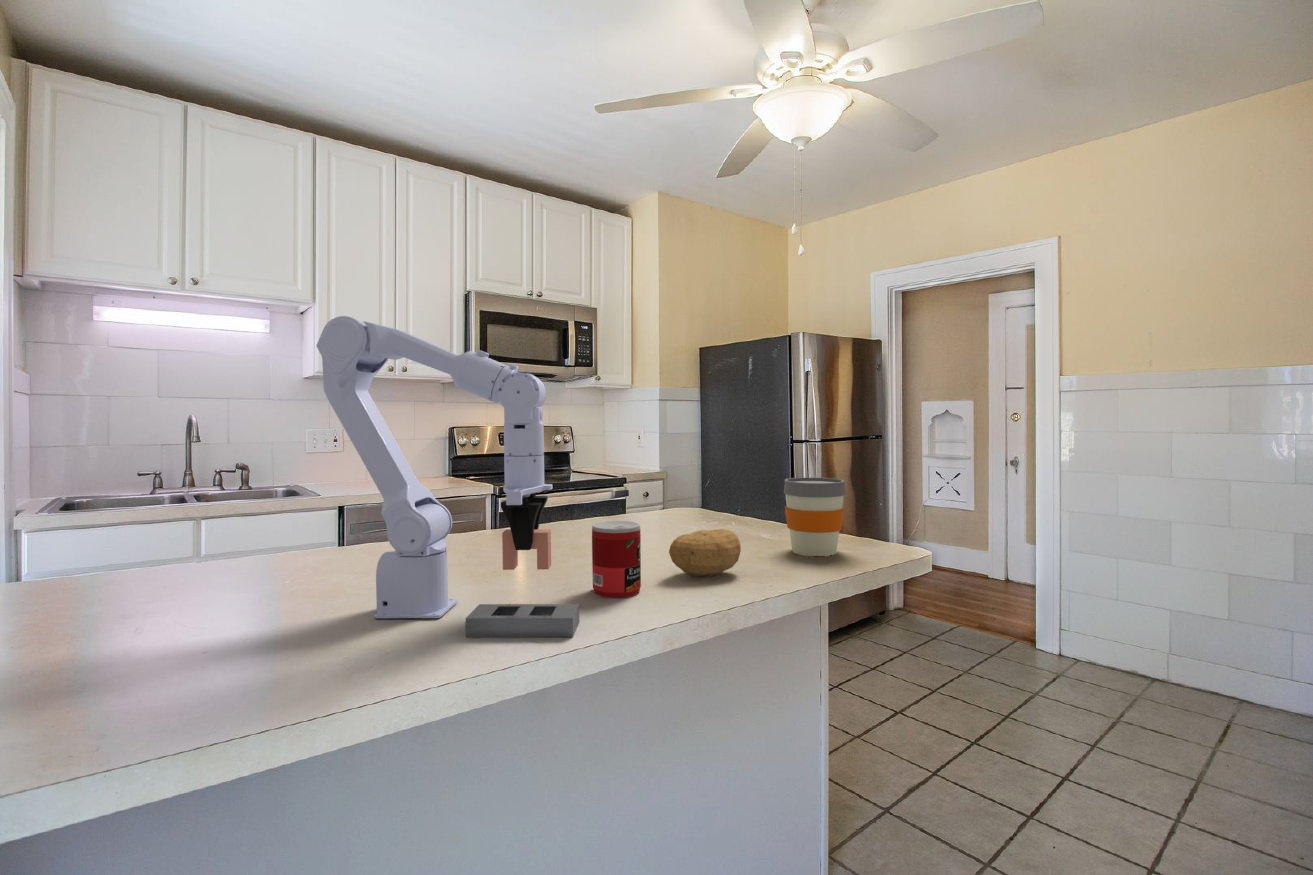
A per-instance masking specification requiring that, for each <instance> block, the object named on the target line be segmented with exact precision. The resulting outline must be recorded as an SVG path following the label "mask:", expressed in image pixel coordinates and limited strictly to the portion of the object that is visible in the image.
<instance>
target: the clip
mask: <svg viewBox="0 0 1313 875" xmlns="http://www.w3.org/2000/svg"><path fill="white" fill-rule="evenodd" d="M501 540H502V541H501V542H502V544H501V545H502V570H503V571H505V570H506V571H507V570H508V571H510V570H511V571H512V570H513V571H514V570H515V569H516V568H517V567H518V566H519V557H518V556H519V554H518V553H519V550H516V549H515V545H514V542H513V537H512V533H511V529H506V530H504V531H503V532H502V537H501ZM530 550H536V564H537V565H536V569H537V570H549V569H550V567H551V566H552V530H551V529H550V528H548V529H547V528H546V529H545V528H541V529H539V528H538V529H534V534H533V542H532V546H531V549H530Z"/></svg>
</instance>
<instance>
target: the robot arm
mask: <svg viewBox="0 0 1313 875" xmlns="http://www.w3.org/2000/svg"><path fill="white" fill-rule="evenodd" d="M316 348H317V349H318V352H319V355H320V356H321V361H322V380H323V392H324V395H325V397H326V398H327V400H328V402H329V404H330V406H331V408H332V409H333V411H334V412H335V414H336V416H337V418H338V420H339V421H340V424H341V425H342V427H343V429H344V431H345V433H346V434H347V436H348V438H349V440H350V441H351V443H352V445H353V447H354V448H355V450H356V452H357V455H358V456H359V457H360V459H361V461H362V464H364V466H365V469H366V470H367V472H368V473H369V475H370V477H371V479H372V481H373V483H374V484H375V485H376V488H377V489H378V491H379V493H380V495H381V497H382V498H383V502H382V507H381V513H380V514H381V516H382V518H383V520H384V522H385V524H386V525H385V526H386V536H387V537H386V538H387V540H388V542H389V544H390V546H391V547H392V548H393V549H394V551H386V552H384V553H382V555H381V556H380V557H379V559H378V561H377V566H376V570H375V571H376V572H375V587H376V588H375V589H376V590H375V592H376V594H375V595H376V596H375V597H376V613H375V614H374V617H373V618H375V619H439V618H442V617H443V615H445V614H446V613H447V612H448V611H449V610H451V609H452V607H454V606H455V605H456V604H457V603H458V602H459V600H458V599H457V598H449V583H448V582H449V579H448V577H449V575H448V574H449V572H448V571H449V570H448V569H449V568H448V566H449V565H448V544H447V543H446V537H448V535H449V534H450V532H451V531H452V527H453V517H452V514H451V512H450V509H448V508H447V507H446V506H445V505H443V503H441V502H439V501H438V500H437V498H435V496H434V495H433V493H432V491H431V490H429V488H427V487H426V486H424V485H423V484H422V483H421V482H420V481H418V478H417V477H416V475H415V473H414V471H413V470H412V467H411V466H410V464H409V462H408V461H407V459H406V457H405V455H404V453H403V452H402V450H401V448H400V446H399V445H398V442H397V441H396V438H394V436H393V433H392V432H391V430H390V429H389V426H388V424H387V422H386V421H385V419H384V418H383V415H382V413H381V412H380V410H379V408H378V407H377V405H376V402H375V401H374V400H373V397H372V395H371V394H370V392H369V390H370V389H369V388H370V387H371V384H372V382H373V379H374V378H375V376H376V375H377V374H378V373H379V372H380V371H381V369H382V368H383V367H384V366H385V365H386V363H387V362H388V361H389V360H393V361H396V360H401V359H403V358H404V359H407V360H410V361H413V362H414V363H418V364H421V365H423V366H427V367H429V368H431V369H434V370H437V371H439V372H442V373H446V374H447V375H449V376H450V377H451V379H452V381H453V384H454V385H455V387H456V388H458V389H461V390H463V391H466V392H468V393H470V394H473V395H476V396H478V397H480V398H483V399H486V400H487V401H490V402H493V403H496V404H498V403H500V405H501V406H502V407H503V413H504V414H503V415H504V417H503V418H504V420H503V421H504V422H503V455H504V456H503V458H504V459H503V461H504V462H503V465H504V466H503V467H504V468H503V470H504V473H503V474H504V485H503V489H502V490H503V492H504V493H505V494H506V495H505V500H502V501H501V502H500V508H501V510H502V512H503V513H504V515H505V517H506V520H507V523H508V526H509V530H511V533H512V537H513V542H514V545H515V549H516V550H518V551H530V550H532V549H531V546H532V542H533V534H534V529H539V527H540V521H541V517H542V514H543V511H544V509H545V505H546V504H547V502H548V499H549V498H548V495H537V494H538V493H541V492H544V491H551V490H553V489H554V488H553V484H552V483H551V484H550V483H549V484H548V483H545V442H544V441H545V439H544V438H545V436H544V434H545V432H544V431H545V429H544V422H543V417H544V412H543V407H542V406H544V404H545V401H546V398H547V390H546V387H545V385H544V383H543V381H542V380H541V379H540V378H538V377H537V376H535V375H534V374H532V373H529V372H528V373H527V372H521V371H518V370H519V369H520V368H519V366H518V365H515V364H513V363H511V364H509V365H507V364H504V363H503V362H499V361H498V360H494V359H492V358H490V357H489V356H490V354H489V353H488V352H486V351H483V350H480V349H477V352H475V351H473V350H470V351H469V350H468V351H466V352H464V353H462V354H456V353H454V352H451V351H450V350H447V349H445V348H443V347H441V346H438V345H437V344H434V343H431V342H429V341H427V340H424V339H423V338H419V337H417V336H416V335H413V334H411V333H409V332H406V331H404V330H399V329H396V328H394V327H389V326H385V325H380V324H377V323H373V322H368V321H360V320H357V319H356V318H355V317H351V316H347V315H341V316H336V317H334V318H332V319H330V320H329V321H328V322H326V323H325V326H324V327H323V329H322V331H321V334H320V337H319V339H318V340H317V343H316Z"/></svg>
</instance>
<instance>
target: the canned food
mask: <svg viewBox="0 0 1313 875" xmlns="http://www.w3.org/2000/svg"><path fill="white" fill-rule="evenodd" d="M591 527H592V528H591V558H592V559H591V560H592V562H591V563H592V564H591V566H592V568H591V569H592V570H591V571H592V574H591V575H592V589H593V592H594V594H595V595H596V596H599V597H603V598H611V599H612V598H614V599H619V598H628V597H633V596H636V595H637V594H638V593H640V591H641V587H642V584H641V582H642V578H641V577H642V573H641V570H642V569H641V567H642V565H641V564H642V563H641V562H642V561H641V560H642V559H641V558H642V556H641V554H642V553H641V552H642V551H641V548H642V546H641V544H642V543H641V540H642V538H641V537H642V535H641V524H640V523H638V522H634V521H629V520H628V521H626V520H610V521H609V520H607V521H599V522H595V523H593V524H592V526H591Z"/></svg>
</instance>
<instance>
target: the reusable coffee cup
mask: <svg viewBox="0 0 1313 875" xmlns="http://www.w3.org/2000/svg"><path fill="white" fill-rule="evenodd" d="M783 487H784V488H783V494H784V495H785V504H786V505H784V510H785V511H784V513H785V519H786V525H787V526H786V527H787V528H788V529H789V536H790V541H791V542H790V543H791V549H792V553H794V554H796V555H799V556H804V557H813V556H825V557H831V556H830V555H832V556H835V555H836V554H837V552H838V551H837V549H838V542H839V537H840V536H839V535H840V532H841V531H842V530H843V529H842V527H843V522H844V521H843V520H844V514H845V507H843V506H844V498H845V497H844V496H846V484H845V480H843V479H838V478H831V477H791V478H790V477H789V478H785V479H784V486H783ZM835 553H836V554H835ZM834 554H835V555H834Z"/></svg>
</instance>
